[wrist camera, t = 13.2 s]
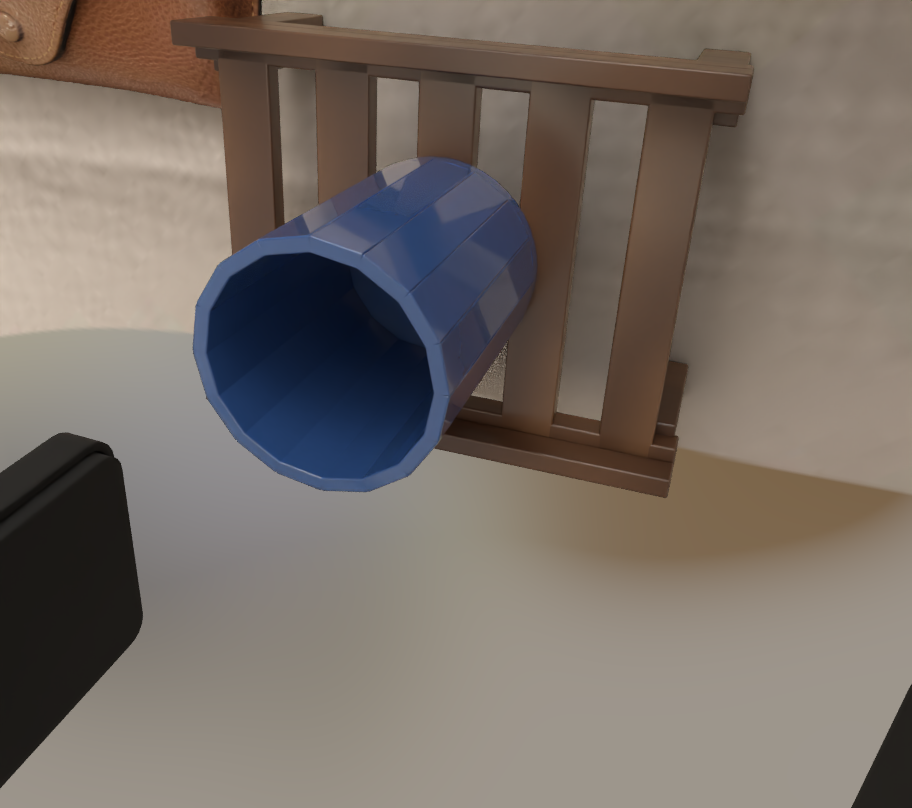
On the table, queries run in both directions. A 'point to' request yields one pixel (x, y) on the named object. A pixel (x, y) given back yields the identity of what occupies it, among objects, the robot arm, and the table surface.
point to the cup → (365, 322)
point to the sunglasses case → (113, 44)
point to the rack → (542, 202)
